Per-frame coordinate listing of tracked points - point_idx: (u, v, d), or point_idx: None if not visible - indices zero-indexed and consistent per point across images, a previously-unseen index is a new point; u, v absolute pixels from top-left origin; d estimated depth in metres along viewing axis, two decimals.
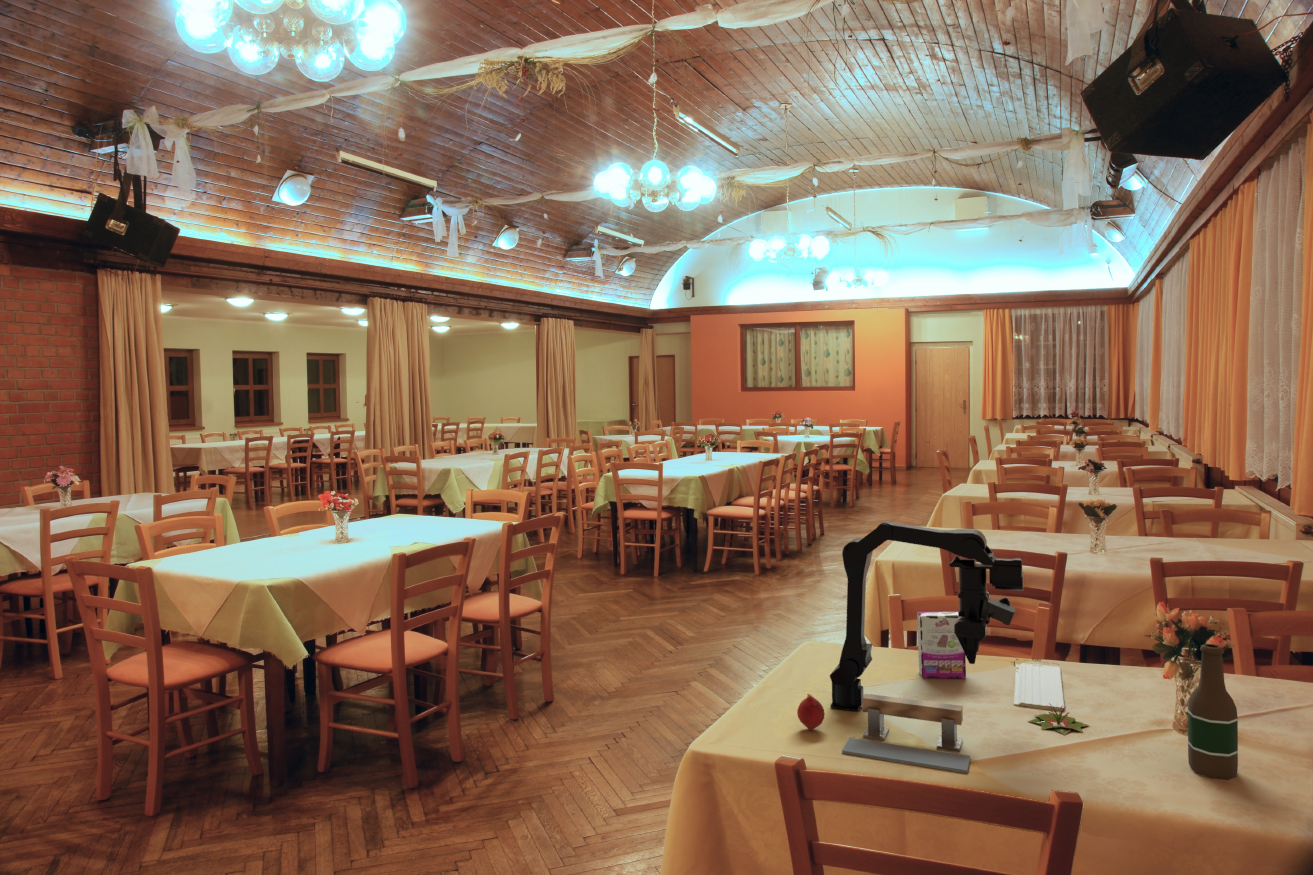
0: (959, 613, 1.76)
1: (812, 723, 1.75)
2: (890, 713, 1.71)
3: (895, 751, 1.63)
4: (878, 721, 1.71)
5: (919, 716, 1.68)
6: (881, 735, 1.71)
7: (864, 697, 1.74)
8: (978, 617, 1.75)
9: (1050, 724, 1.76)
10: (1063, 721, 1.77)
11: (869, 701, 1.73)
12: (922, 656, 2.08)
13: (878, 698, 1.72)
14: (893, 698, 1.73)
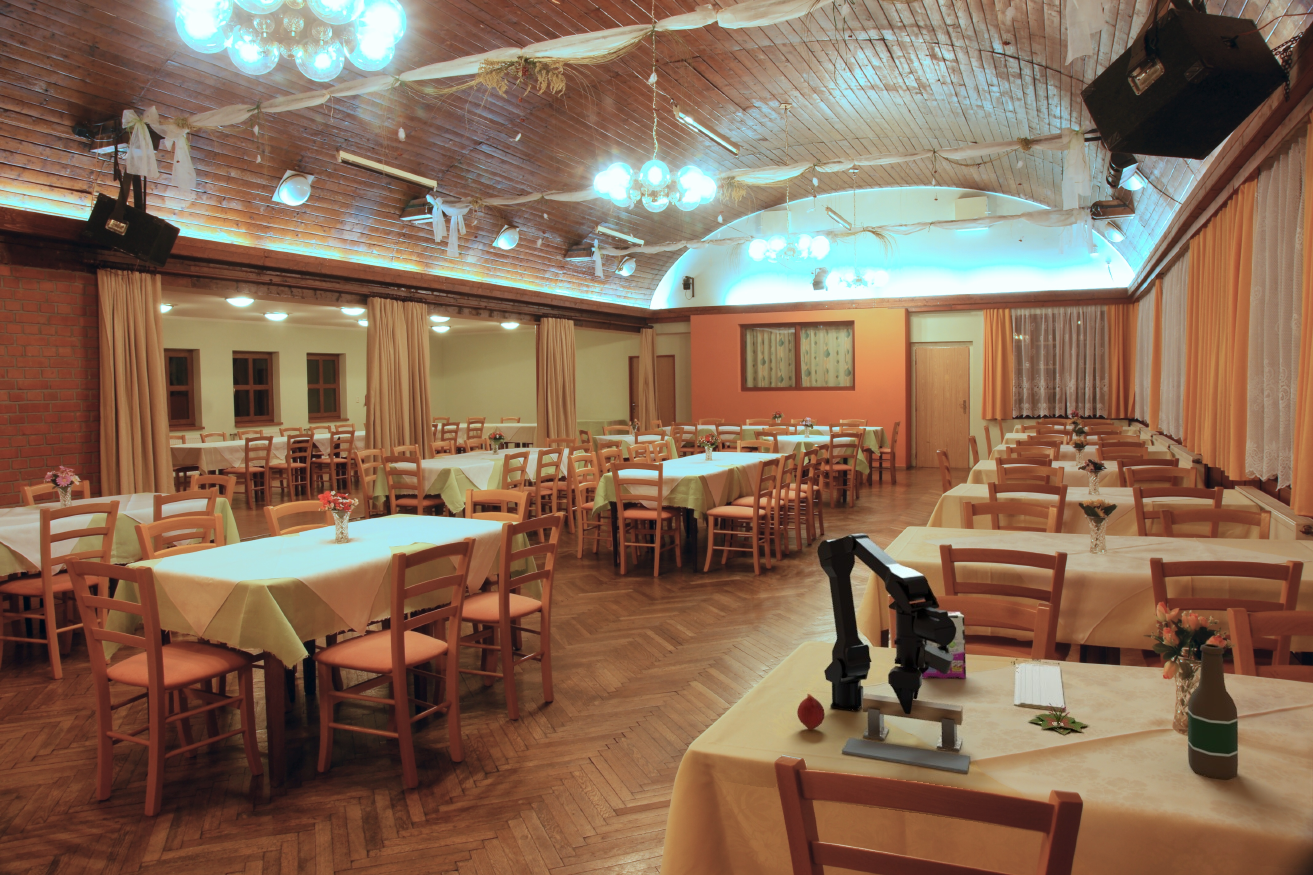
0: (895, 660, 1.69)
1: (812, 723, 1.75)
2: (890, 713, 1.71)
3: (895, 751, 1.63)
4: (878, 721, 1.71)
5: (919, 716, 1.68)
6: (881, 735, 1.71)
7: (864, 697, 1.74)
8: (915, 665, 1.67)
9: (1050, 724, 1.76)
10: (1063, 721, 1.77)
11: (869, 701, 1.73)
12: None
13: (878, 698, 1.72)
14: (893, 698, 1.73)
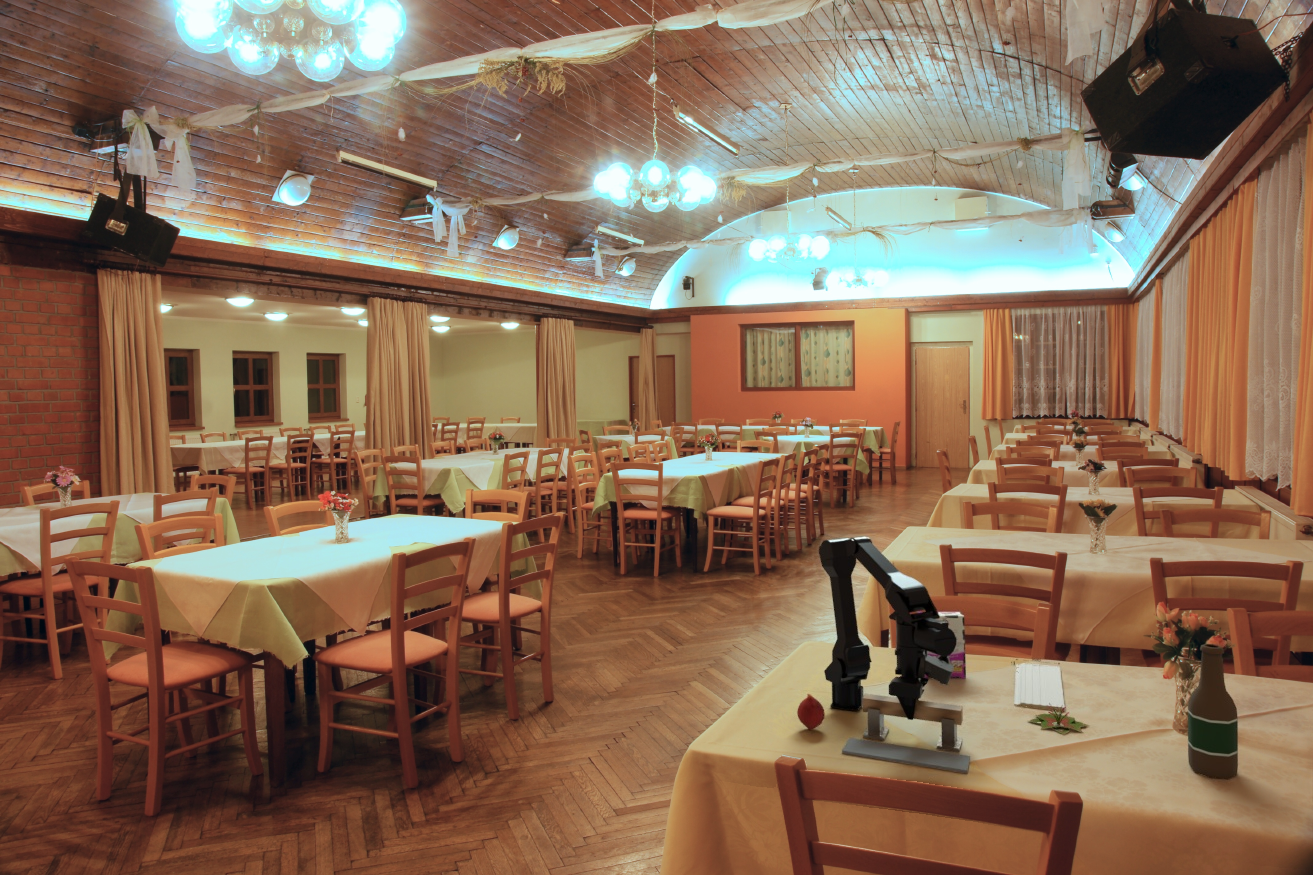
0: (896, 671, 1.69)
1: (812, 723, 1.75)
2: (890, 713, 1.71)
3: (895, 751, 1.63)
4: (878, 721, 1.71)
5: (919, 716, 1.68)
6: (881, 735, 1.71)
7: (864, 697, 1.74)
8: (915, 676, 1.67)
9: (1050, 724, 1.76)
10: (1063, 721, 1.77)
11: (869, 701, 1.73)
12: None
13: (878, 698, 1.72)
14: (893, 698, 1.73)
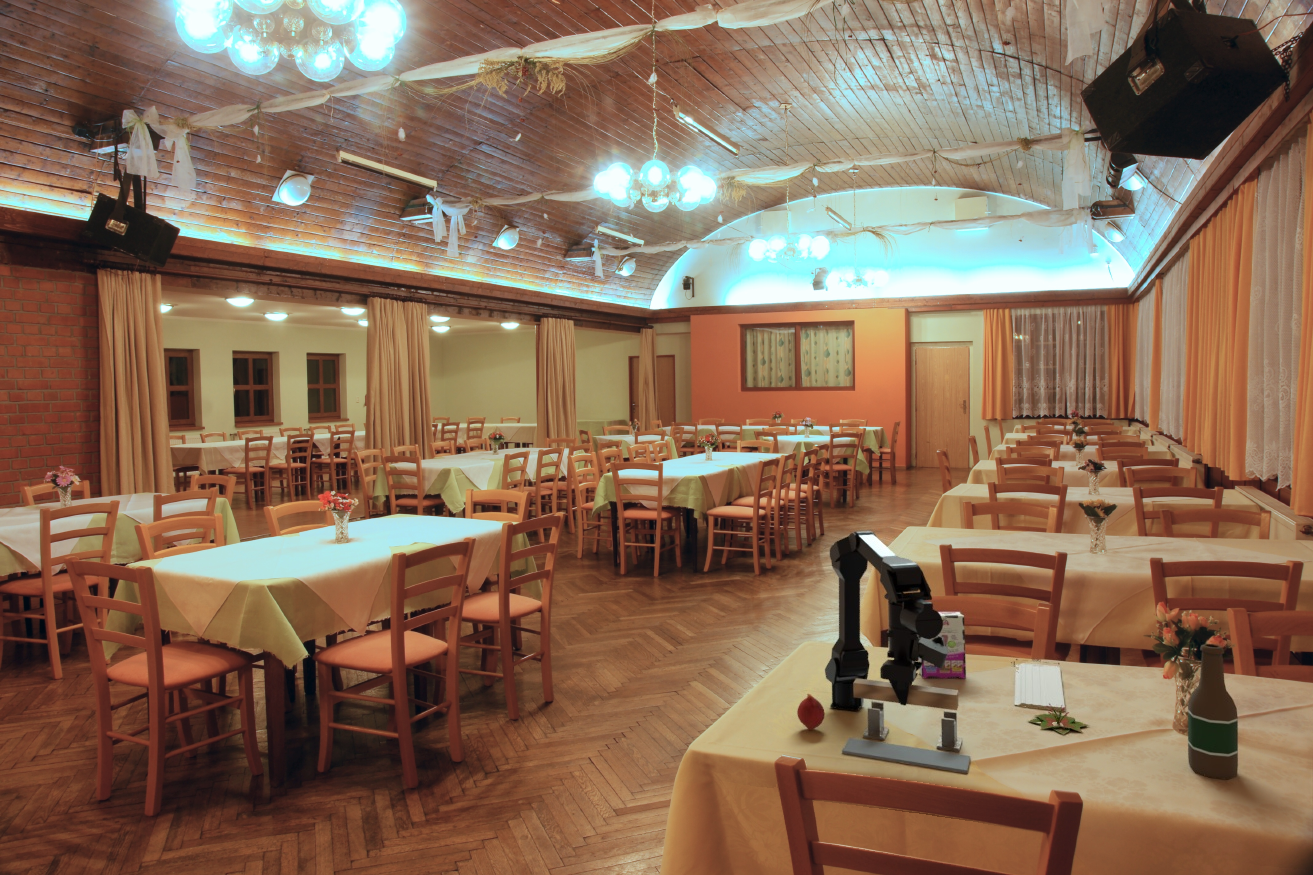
0: (888, 654, 1.61)
1: (812, 723, 1.75)
2: (882, 698, 1.63)
3: (895, 751, 1.63)
4: (878, 721, 1.71)
5: (913, 701, 1.60)
6: (881, 735, 1.71)
7: (855, 682, 1.65)
8: (908, 658, 1.59)
9: (1049, 724, 1.76)
10: (1063, 721, 1.77)
11: (861, 686, 1.64)
12: None
13: (870, 683, 1.64)
14: (885, 683, 1.64)
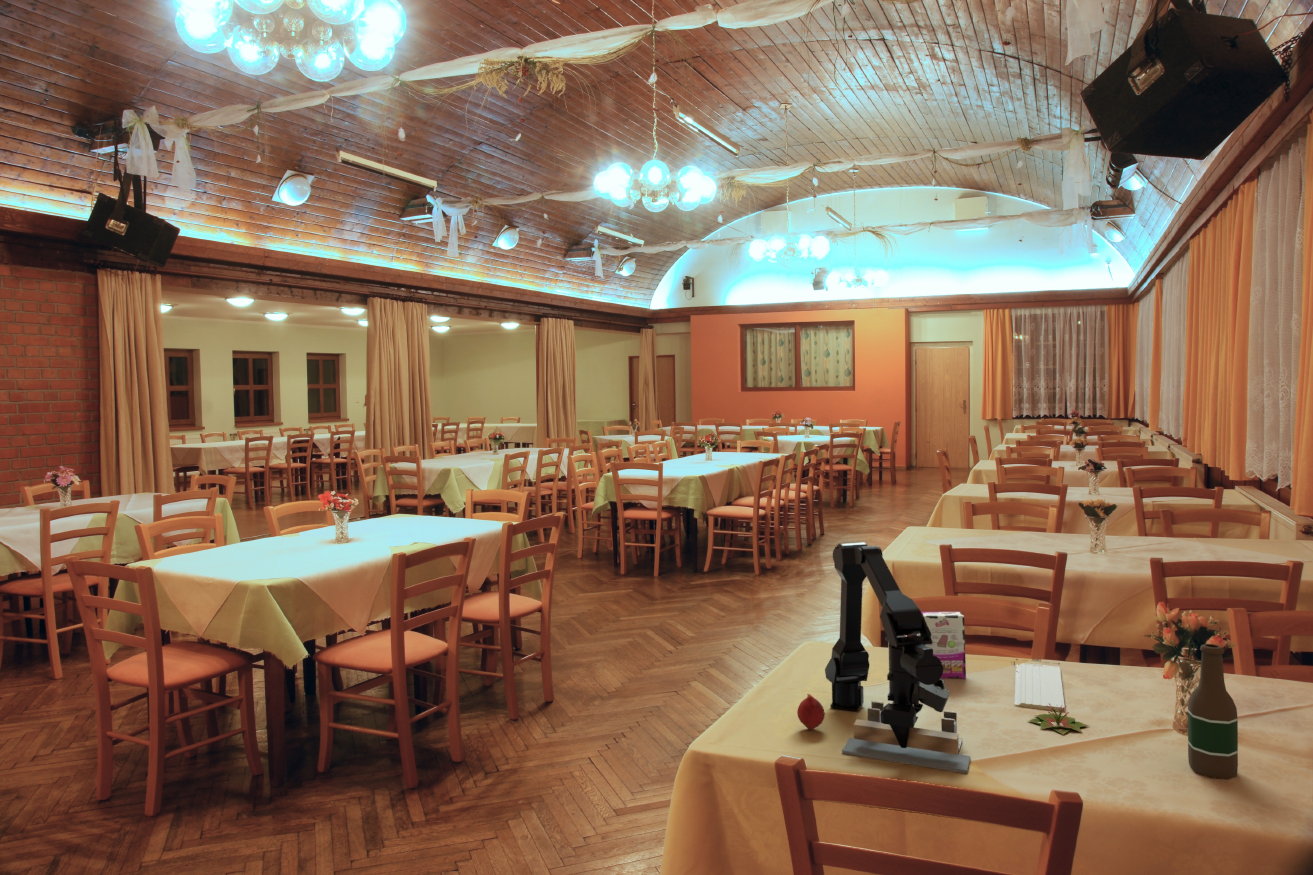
0: (888, 697, 1.61)
1: (812, 723, 1.75)
2: (883, 741, 1.63)
3: (895, 751, 1.63)
4: (878, 721, 1.71)
5: (913, 744, 1.60)
6: None
7: (855, 723, 1.66)
8: (908, 702, 1.59)
9: (1049, 724, 1.76)
10: (1063, 721, 1.77)
11: (861, 728, 1.65)
12: None
13: (870, 725, 1.64)
14: (886, 725, 1.65)
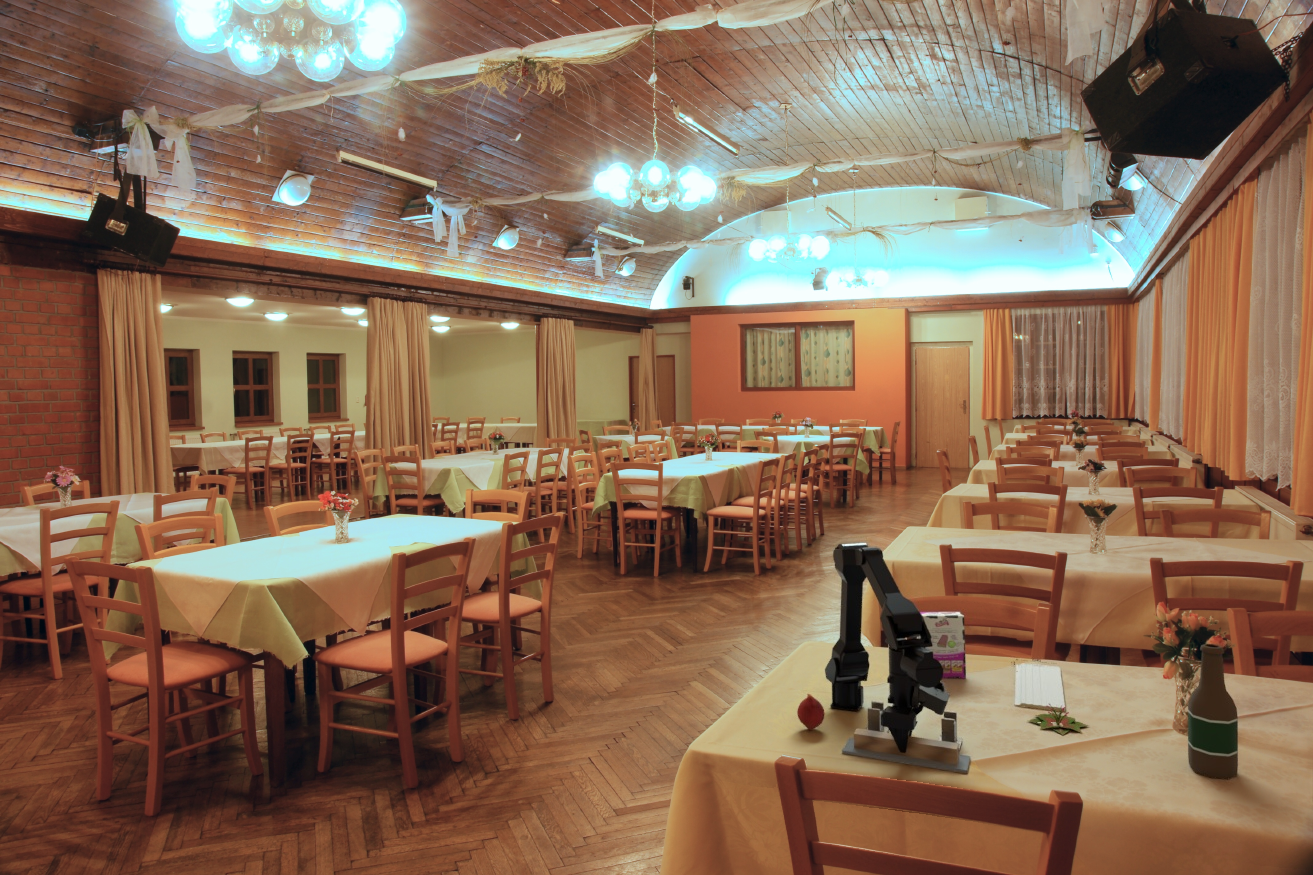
0: (888, 699, 1.61)
1: (812, 723, 1.75)
2: (883, 750, 1.63)
3: None
4: (878, 721, 1.71)
5: (913, 754, 1.60)
6: None
7: (855, 732, 1.66)
8: (908, 705, 1.59)
9: (1049, 724, 1.76)
10: (1063, 721, 1.77)
11: (861, 737, 1.65)
12: None
13: (871, 734, 1.65)
14: (886, 734, 1.65)
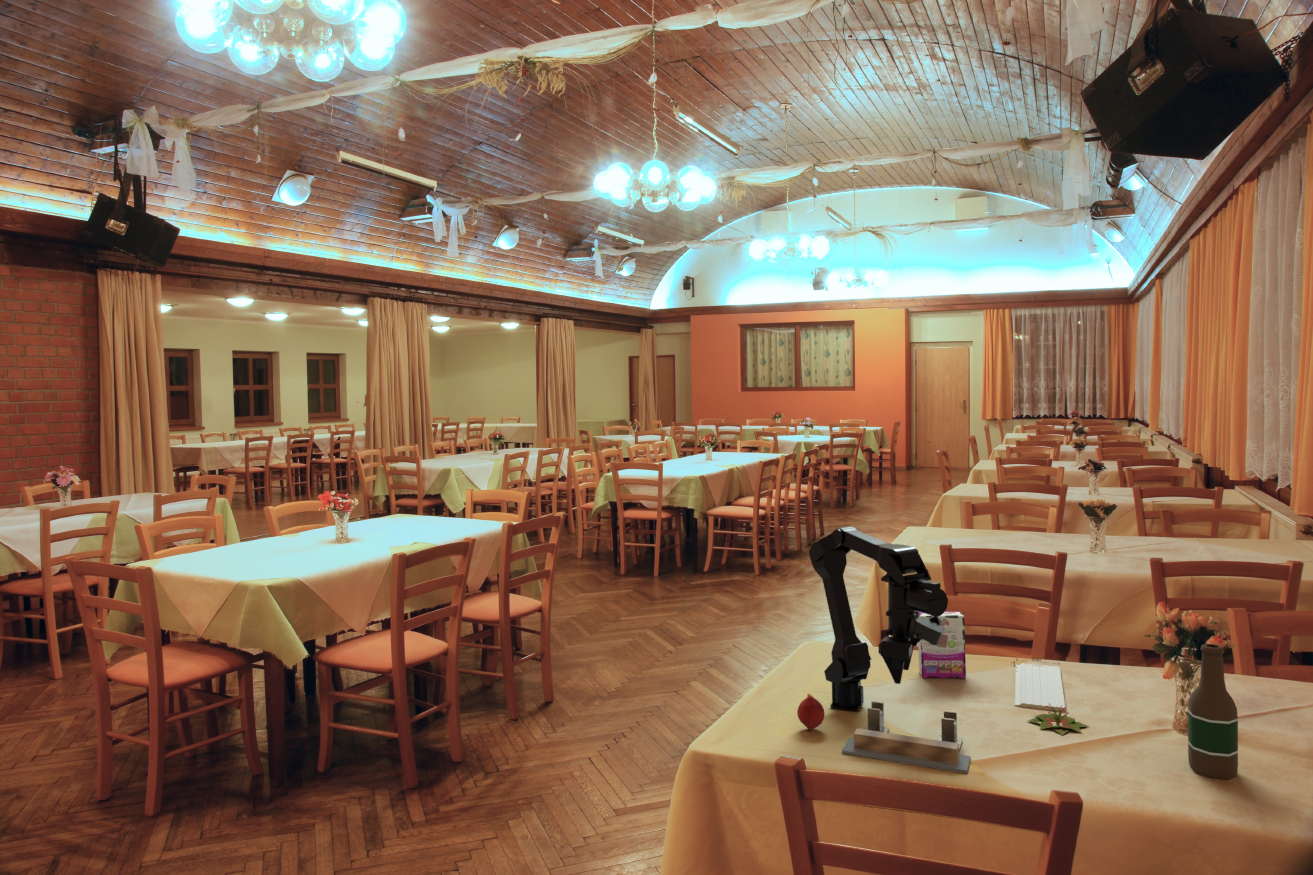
0: (887, 631, 1.72)
1: (812, 723, 1.75)
2: (883, 750, 1.63)
3: None
4: (878, 721, 1.71)
5: (913, 754, 1.60)
6: None
7: (855, 732, 1.66)
8: (905, 636, 1.70)
9: (1049, 724, 1.76)
10: (1062, 721, 1.77)
11: (861, 737, 1.65)
12: (922, 656, 2.08)
13: (871, 734, 1.65)
14: (886, 734, 1.65)
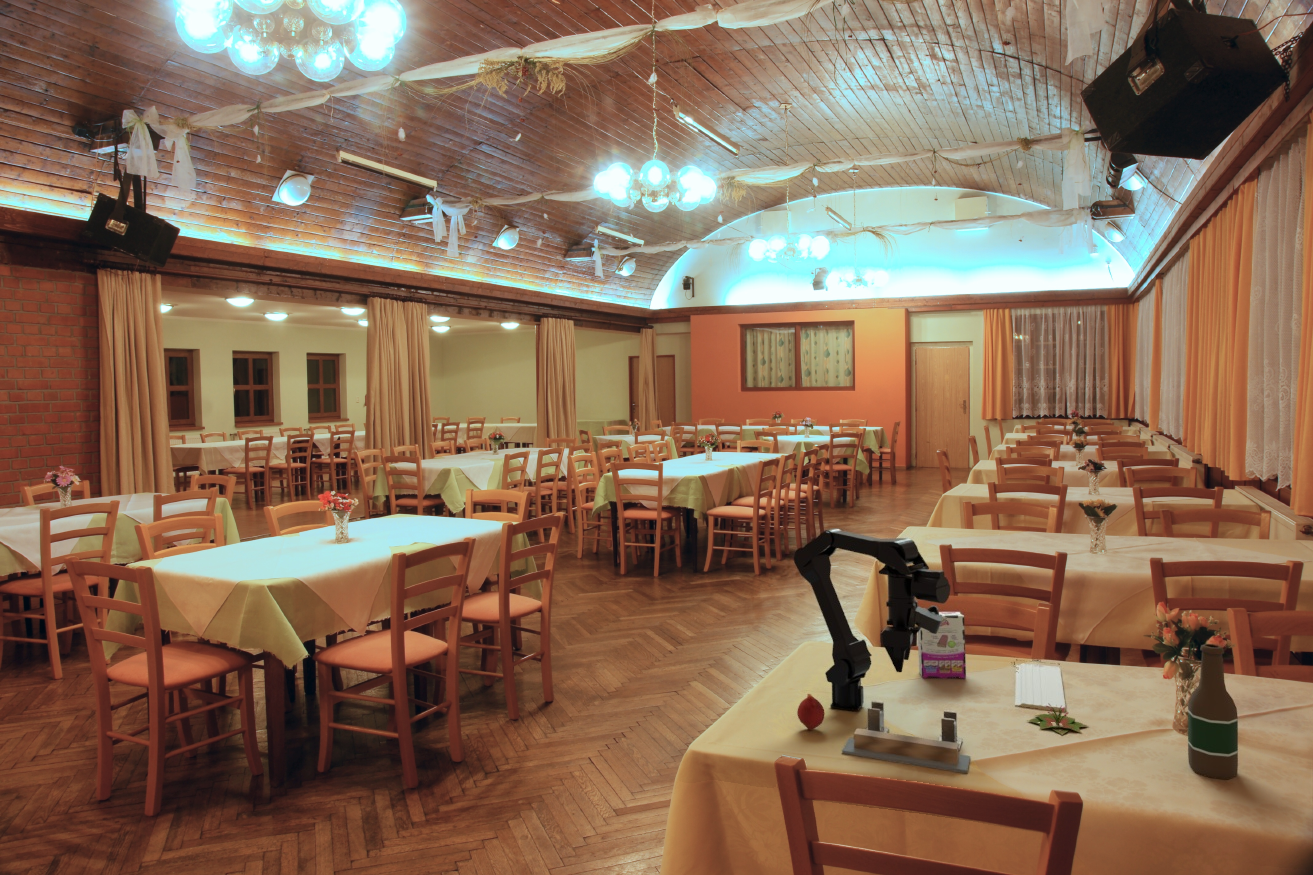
0: (887, 621, 1.77)
1: (812, 723, 1.75)
2: (883, 750, 1.63)
3: None
4: (878, 721, 1.71)
5: (913, 754, 1.60)
6: None
7: (855, 732, 1.66)
8: (906, 626, 1.75)
9: (1049, 724, 1.76)
10: (1062, 721, 1.77)
11: (861, 737, 1.65)
12: (922, 656, 2.08)
13: (871, 734, 1.65)
14: (886, 734, 1.65)
